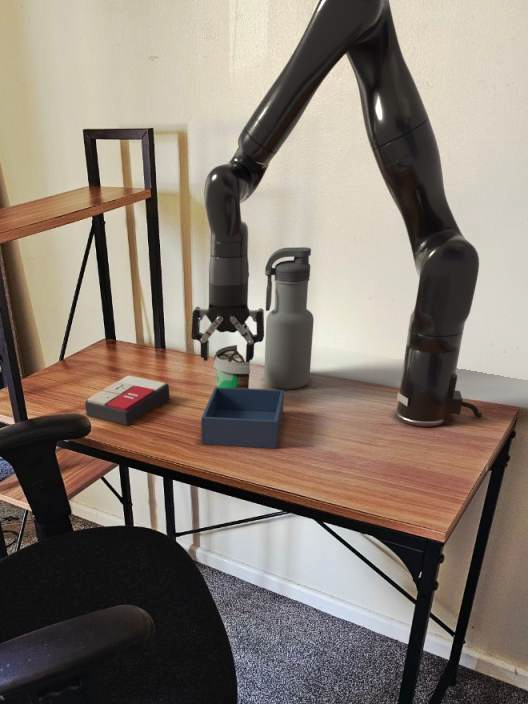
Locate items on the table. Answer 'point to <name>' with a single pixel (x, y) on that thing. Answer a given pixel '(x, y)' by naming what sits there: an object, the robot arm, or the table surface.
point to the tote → (243, 417)
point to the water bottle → (288, 320)
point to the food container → (231, 368)
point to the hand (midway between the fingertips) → (227, 360)
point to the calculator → (127, 399)
